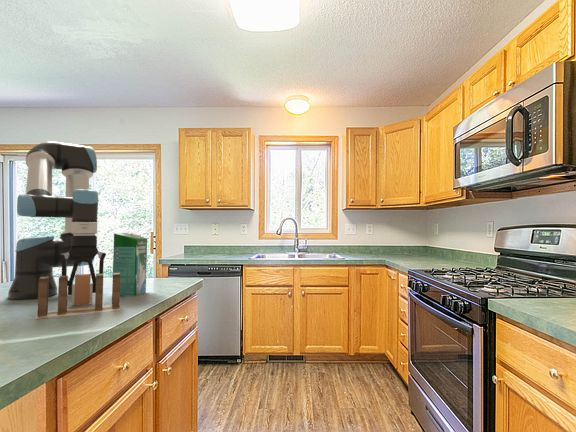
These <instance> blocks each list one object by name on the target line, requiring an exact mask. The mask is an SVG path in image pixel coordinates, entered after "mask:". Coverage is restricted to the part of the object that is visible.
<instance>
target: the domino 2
mask: <svg viewBox="0 0 576 432" xmlns="http://www.w3.org/2000/svg"><path fill="white" fill-rule="evenodd" d="M68 280H69V275H67V276H62V275H60V276H59V277H58V286H57V310H58V315H62V314H66V312H67V309H68Z"/></svg>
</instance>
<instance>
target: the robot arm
mask: <svg viewBox="0 0 576 432" xmlns="http://www.w3.org/2000/svg"><path fill="white" fill-rule="evenodd" d="M25 165H26V167H27V179H26V188H25V194H22V193H21V194H18V196H17V198H16V199H17V200H16V203H17V204H16V213H17V215H18V216H20V217H29V218H64V231H63V232H61V233H60V235H59V237H60V238H55V236H54V234H53V235H52V234H51V235H50V234H49V235H39V236H31V237H23V238H20V239H17V242H16V248H15V251H14V252H15V269H14V278H13V280H12V283H11V285H10V287H9V289H8V293H7V298H8V299H11V300H31V299H38V284H39V278H40V277H49V292H48V297H51V296H54V295H56V294H57V295H58V285H57V283H56V279H55V278H54V273H53V272H54V271H53V269H54V268H61V276H68V273H67V271H68V267H72V269H71V272H70V277H69V278H68V289H67V296H71V306H74V298H75V283H74V282H75V275H76V274H77V269H78V268H79V267H82V266H83V267H84V266H88V268H89V269H88V270H89V274H91V278H90V279H91V281H92V282H90V304H89V305H91V304H93V294H96V273H95V268H94V261H95V258H96V256H97V257H98V259H99V267H98V274H103V275H104V262H105V261H104V260H105V258H106V256H107V253H106V252H102V251H99V249H98V235H97V234H98V210H99V209H98V208H99V201H100V199H99V193H98V191H97V190H93V189H90V179H91V178H92V177H93V175H94V174H95V173H97V170H98V160H97V155H96V151H95V148H93V147H92V146H87V145H83V144H73V143H65V142H58V141H46V142H45V141H44V142H40V143H39V144H36V145H35V146H32V148H30V149H29V151H28V152H27V154H26V156H25ZM54 169H55V170H60V171H61V174H62V176H64V177H65V196H58V195H53V170H54Z"/></svg>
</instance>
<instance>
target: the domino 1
mask: <svg viewBox="0 0 576 432" xmlns="http://www.w3.org/2000/svg"><path fill="white" fill-rule="evenodd" d="M48 292H49V277H40V278H39V284H38V298H37V314H36V316H37V317H43V316H46V315H47V313H48V311H49V296H48Z"/></svg>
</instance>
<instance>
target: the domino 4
mask: <svg viewBox="0 0 576 432" xmlns="http://www.w3.org/2000/svg"><path fill="white" fill-rule="evenodd" d="M111 289H112V290H111V291H112V293H111V305H112V309H118V308H119V307H121V305H120V300H121V299H120V298H121V296H120V273H113V272H112V287H111Z"/></svg>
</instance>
